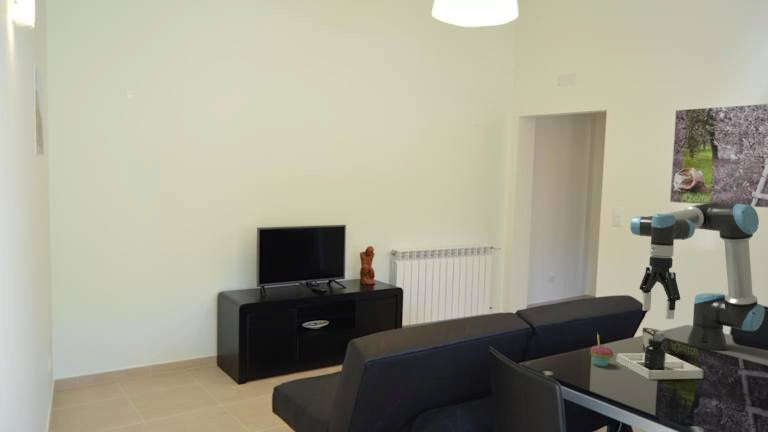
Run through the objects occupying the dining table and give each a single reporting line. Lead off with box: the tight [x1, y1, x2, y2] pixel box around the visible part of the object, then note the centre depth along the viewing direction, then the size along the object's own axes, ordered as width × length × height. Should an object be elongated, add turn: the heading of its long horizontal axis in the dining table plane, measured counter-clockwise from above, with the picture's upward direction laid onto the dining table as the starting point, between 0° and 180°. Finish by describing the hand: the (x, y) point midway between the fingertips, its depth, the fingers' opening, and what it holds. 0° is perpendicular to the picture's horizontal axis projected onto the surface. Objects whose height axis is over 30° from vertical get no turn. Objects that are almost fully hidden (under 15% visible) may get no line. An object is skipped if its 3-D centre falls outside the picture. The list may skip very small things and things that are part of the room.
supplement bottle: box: [644, 338, 666, 370], centre depth 215 cm, size 7×7×12 cm
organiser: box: [615, 352, 705, 380], centre depth 221 cm, size 21×21×3 cm
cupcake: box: [589, 332, 615, 367], centre depth 225 cm, size 9×8×12 cm
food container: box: [641, 327, 666, 353], centre depth 241 cm, size 12×6×10 cm, turn 179°
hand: (657, 314), depth 214 cm, fingers open, 13 cm apart
